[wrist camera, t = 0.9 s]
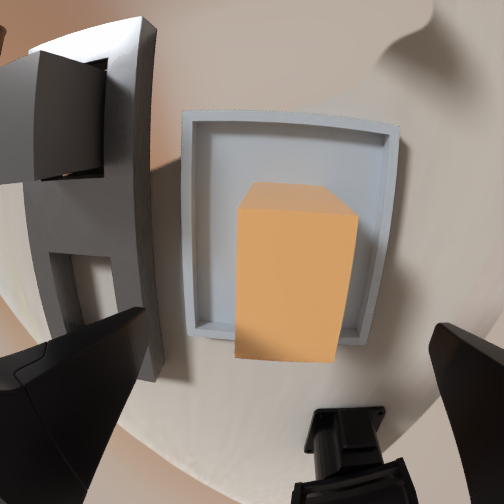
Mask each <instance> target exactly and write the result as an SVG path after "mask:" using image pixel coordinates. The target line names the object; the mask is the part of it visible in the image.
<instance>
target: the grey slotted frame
mask: <svg viewBox="0 0 504 504" xmlns="http://www.w3.org/2000/svg"><path fill="white" fill-rule="evenodd" d="M156 35H157V28H155V27H154V26H153V25H152V24H151V23H150V22H149V21H147V20H146V19H145V18H144V17H143V16H140V17H135V18H130V19H125V20H121V21H117V22H112V23H108V24H104V25H100V26H97V27H93V28H89V29H86V30H83V31H79V32H76V33H73V34H70V35H67V36H64V37H61V38H58V39H55V40H52V41H50V42H47V43H44V44H42V45H39V46H37V47H35V48H32V49H29V53H28V55H29V54H31V53H34V52H36V51H39V50H43V51H46V52H50V53H53V54H56V55H60V56H63V57H66V58H69V59H73V60H76V61H79V62H82V63H85V64H88V65H91V66H94V67H96V68H99V69H102V70H106V69H107V79H106V93H105V113H104V174H95V175H77V176H63V175H58V176H54V177H49V178H45V179H41V180H37V181H29V182H23V192H24V204H25V213H26V222H27V229H28V236H29V243H30V249H31V255H32V260H33V266H34V271H35V275H36V280H37V285H38V289H39V293H40V297H41V301H42V305H43V309H44V313H45V317H46V320H47V324H48V327H49V330H50V334H51V337H52V339H54V338H57V337H59V336H62V335H64V334H67V333H70V332H72V331H75V330H77V329H80V328H82V327H85V326H87V325H84V323H83V319H82V315H81V310H80V306H79V301H78V296H77V291H76V286H75V281H74V275H73V269H72V263H71V257H70V254H76V255H88V256H100V257H110V260H111V268H112V276H113V283H114V290H115V296H116V303H117V309H118V313H120V312H122V311H125V310H127V309H130V308H132V307H136V306H137V307H144V308H147V309H148V311H149V315H150V323H151V331H152V335H151V340H150V343H149V345H148V348H147V351H146V354H145V357H144V360H143V363H142V366H141V369H140V372H139V375H138V378H137V379H139V380H144V381H150V382H156V380H157V378H158V376H159V374H160V372H161V369H162V367H163V365H164V363H165V359H164V352H163V345H162V338H161V330H160V322H159V313H158V304H157V294H156V284H155V272H154V259H153V244H152V226H151V201H150V122H151V97H152V80H153V66H154V54H155V44H156V43H155V42H156Z"/></svg>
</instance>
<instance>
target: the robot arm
mask: <svg viewBox="0 0 504 504" xmlns="http://www.w3.org/2000/svg"><path fill="white" fill-rule="evenodd" d="M151 335H152V331H151V323H150V315H149V311H148V309H147V308H144V307H137V306H136V307H132V308H130V309H127V310H125V311H122V312H120V313H117V314H115V315H112V316H110V317H107V318H105V319H102V320H100V321H97V322H95V323H92V324H90V325H87V326H85V327H82V328H80V329H77V330H75V331H72V332H70V333H67V334H64V335H62V336H59V337H57V338H54V339H52V340H49V341H48V342H44V343H41V344H39V345H36V346H34V347H31V348H28V349H26V350H23V351H20V352H17V353H14V354H11V355H8V356H4V357H1V358H0V504H83V502H84V499H85V497H86V494H87V490H88V489H89V486H90V484H91V481H92V479H93V477H94V474H95V472H96V469H97V467H98V465H99V462H100V460H101V458H102V455H103V453H104V451H105V448H106V446H107V444H108V441H109V439H110V437H111V435H112V432H113V430H114V428H115V426H116V423H117V421H118V419H119V417H120V415H121V412H122V410H123V408H124V406H125V404H126V401H127V399H128V397H129V395H130V393H131V391H132V389H133V386H134V384H135V382H136V380H137V378H138V375H139V372H140V369H141V366H142V363H143V360H144V357H145V354H146V351H147V348H148V345H149V343H150V340H151ZM429 355H430V358H431V362H432V365H433V369H434V373H435V377H436V381H437V385H438V388H439V391H440V394H441V397H442V400H443V403H444V406H445V409H446V411H447V415H448V418H449V421H450V424H451V427H452V430H453V434H454V437H455V440H456V444H457V447H458V451H459V454H460V458H461V461H462V465H463V469H464V473H465V477H466V482H467V486H468V490H469V495H470V500H471V504H504V349H502V348H500V347H498V346H496V345H494V344H492V343H489V342H488V341H486V340H484V339H481V338H479V337H477V336H475V335H473V334H471V333H469V332H467V331H465V330H463V329H461V328H459V327H457V326H455V325H452V324H450V323H438V324H437V325H436V326H435V329H434V332H433V335H432V337H431V340H430V343H429ZM385 413H386V411H385V408H384V407H367V408H343V409H317V410H315V411H314V413H313V417H312V421H311V425H310V428H309V432H308V436H307V439H306V443H305V446H304V452H305V453H308V454H314V460H315V474H316V481H311V482H305V483H302V482H299V483H295V486H294V491H293V492H292V499H291V504H418V499H417V495H416V491H415V488H414V485H413V483H412V480H411V478H410V475H409V472H408V470H407V467H406V465H405V462H404V460H403V458H402V457H401V458H398V459H396V460H395V461H392V462H389V463H386V464H384V462H383V458H382V454H381V450H380V446H379V442H378V438H377V435H376V432H377V430H378V428H379V426H380V424H381V422H382V420H383V418H384V415H385Z"/></svg>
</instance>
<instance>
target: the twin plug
mask: <svg viewBox="0 0 504 504" xmlns="http://www.w3.org/2000/svg"><path fill="white" fill-rule="evenodd" d="M106 79H107V71H105V70H102V69H99V68H96V67H94V66H91V65H88V64H85V63H82V62H79V61H76V60H73V59H69V58H66V57H63V56H60V55H56V54H53V53H50V52H46V51H43V50H39V51H36V52H34V53H31V54H29V55H26V56H24V57H22V58H19V59H17V60H15V61H12V62H10V63H8V64H6V65H4V66H2V67H0V185H1V184H10V183H19V182H29V181H37V180H41V179H45V178H49V177H54V176H58V175H63V174H67V173H72V172H77V171H82V170H87V169H92V168H98V167H103V166H104V113H105V93H106Z"/></svg>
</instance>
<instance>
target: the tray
mask: <svg viewBox="0 0 504 504" xmlns="http://www.w3.org/2000/svg"><path fill="white" fill-rule="evenodd" d="M399 135H400V126H397V125H391V124H386V123H380V122H374V121H367V120H360V119H353V118H345V117H337V116H328V115H318V114H307V113H294V112H277V111H254V110H198V111H197V110H196V111H182V138H181V228H182V259H183V281H184V299H185V314H186V328H187V335H189V336H198V337H207V338H217V339H228V340H235V309H236V258H237V218H238V207H239V205H240V204H241V202H242V200H243V199H244V197H245V196H246V194H247V192H248V191H249V189H250V188H251V186H252V184H253V183H254V182H272V183H289V184H303V185H316V186H324V187H325V188H327V189H328V190H329V191H330V192H331V193H333V194H334V195H335V196H336V197H337V198H339V199H340V200H341V201H342V202H343V203H344V204H346V205H347V206H348V207H349V208H350V209H351V210H352V211H354V212H355V213H356V214H357V215H358V216H359V220H358V228H357V236H356V243H355V250H354V257H353V264H352V270H351V276H350V282H349V288H348V294H347V299H346V305H345V310H344V315H343V320H342V325H341V330H340V335H339V340H338V344H337V345H366V342H367V339H368V335H369V331H370V327H371V323H372V319H373V315H374V310H375V306H376V301H377V297H378V292H379V288H380V283H381V278H382V273H383V267H384V262H385V256H386V251H387V245H388V238H389V232H390V225H391V218H392V211H393V203H394V195H395V185H396V175H397V164H398V151H399Z"/></svg>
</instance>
